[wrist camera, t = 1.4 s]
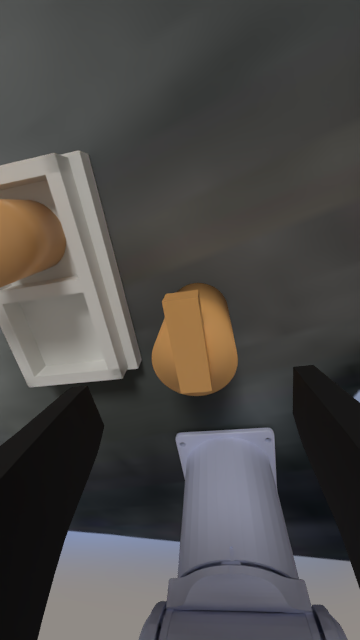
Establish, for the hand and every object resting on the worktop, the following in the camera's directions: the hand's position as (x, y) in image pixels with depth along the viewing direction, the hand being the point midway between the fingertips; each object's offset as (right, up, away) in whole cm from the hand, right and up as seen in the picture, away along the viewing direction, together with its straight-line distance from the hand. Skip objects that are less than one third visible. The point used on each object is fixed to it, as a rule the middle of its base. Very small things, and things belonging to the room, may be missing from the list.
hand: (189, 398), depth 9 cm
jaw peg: (+1, +3, +9) cm, 10 cm away
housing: (-9, +5, +9) cm, 13 cm away
